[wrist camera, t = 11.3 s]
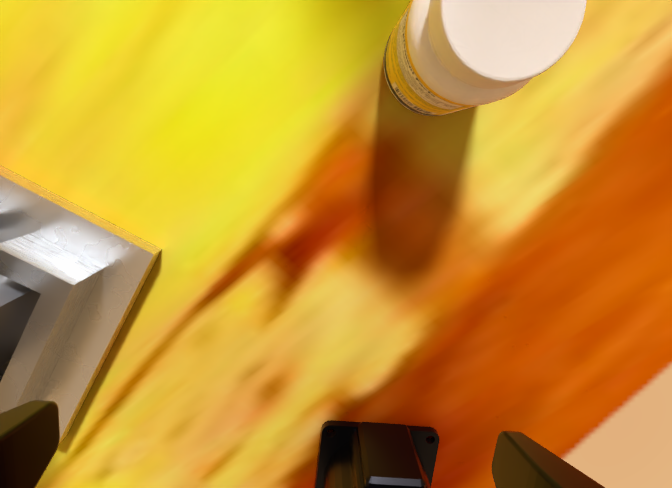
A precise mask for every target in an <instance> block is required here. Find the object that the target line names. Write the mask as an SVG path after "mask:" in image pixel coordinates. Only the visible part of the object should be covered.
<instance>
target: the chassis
mask: <svg viewBox="0 0 672 488" xmlns="http://www.w3.org/2000/svg"><path fill="white" fill-rule="evenodd" d="M160 251H161V249H160V248H158V247H156V246H154V245H152V244H150V243H148V242H146V241H144V240H143V239H141V238H139V237H137V236H135V235H133V234H131V233H129V232H127V231H125V230H123V229H121V228H119V227H118V226H116V225H114V224H112V223H110V222H108V221H106V220H104V219H102V218H100V217H98V216H96V215H94V214H92V213H91V212H89V211H87V210H85V209H83V208H81V207H79V206H77V205H75V204H73V203H71V202H69V201H67V200H66V199H64V198H62V197H60V196H58V195H56V194H54V193H52V192H50V191H48V190H46V189H44V188H42V187H41V186H39V185H37V184H35V183H33V182H31V181H29V180H27V179H25V178H23V177H21V176H19V175H17V174H16V173H14V172H12V171H10V170H8V169H6V168H4V167H2V166H0V275H3V276H5V277H7V278H9V279H11V280H13V281H15V282H17V283H19V284H21V285H23V286H25V287H28V288H30V289H32V290H34V291H36V292H38V293H40V294H41V295H40V297H39V299H38V301H37V303H36V306H35V308H34V310H33V312H32V314H31V316H30V319H29V321H28V323H27V325H26V327H25V329H24V332H23V334H22V336H21V338H20V340H19V343H18V345H17V347H16V349H15V351H14V353H13V356H12V358H11V360H10V361H8V362H7V363H5V364H4V365H3V366H1V367H0V414H1V413H3V412H5V411H8V410H10V409H13V408H15V407H17V406H20V405H22V404H25V403H27V402H29V401H32V400H44V401H54V402H55V403H57V405H58V409H59V427H60V441H59V444H60V443H61V442H62V440H63V439H64V438H65V437H66V436H67V434H68V432H69V430H70V428H71V426H72V424H73V422H74V420H75V418H76V416H77V414H78V412H79V410H80V408H81V406H82V404H83V402H84V400H85V398H86V397H87V395H88V393H89V391H90V389H91V387H92V385H93V383H94V381H95V379H96V377H97V375H98V373H99V371H100V369H101V367H102V365H103V363H104V361H105V359H106V357H107V355H108V353H109V351H110V349H111V347H112V345H113V344H114V342H115V340H116V338H117V336H118V334H119V332H120V330H121V328H122V326H123V324H124V322H125V320H126V318H127V316H128V314H129V312H130V310H131V308H132V306H133V304H134V302H135V300H136V298H137V296H138V294H139V293H140V291H141V289H142V287H143V285H144V283H145V281H146V279H147V277H148V275H149V273H150V271H151V269H152V267H153V265H154V263H155V261H156V259H157V257H158V255H159V253H160Z"/></svg>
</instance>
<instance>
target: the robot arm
mask: <svg viewBox="0 0 672 488" xmlns="http://www.w3.org/2000/svg"><path fill="white" fill-rule="evenodd" d="M329 429H333V430H334V431H333V432H327V430H329ZM428 436H432V438H430V439H426V438H427V437H428ZM59 441H60V427H59V409H58V405H57V403H55V402H54V401H44V400H32V401H29V402H27V403H25V404H22V405H20V406H17V407H15V408H13V409H10V410H8V411H5V412H3V413H1V414H0V488H35V487H36V485H37V483H38V482H39V480H40V478H41V476H42V475H43V473H44V471H45V470H46V468H47V466H48V464H49V463H50V461H51V459H52V457H53V456H54V454H55V452H56V450H57V448H58V445H59ZM438 444H439V436H438V433H437V431H436V430H435V429H434V428H431V427H420V426H406V425H401V424H386V423H371V422H362V423H361V422H346V421H327V422H325V423H324V424H323V425H322V428H321V437H320V446H319V455H318V464H317V473H316V482H315V488H431V482H432V477H433V471H434V466H435V461H436V455H437V450H438ZM492 474H493V478H494V482H495V485H496V488H605V487H603V486H602V485H600V484H598V483H597V482H596V481H594V480H593V479H591V478H589V477H588V476H586V475H585V474H583V473H582V472H580V471H579V470H577V469H576V468H574V467H573V466H571V465H570V464H568V463H567V462H565V461H564V460H562V459H561V458H559V457H558V456H556V455H555V454H553V453H552V452H550V451H549V450H547V449H546V448H544V447H543V446H541V445H540V444H538V443H536V442H535V441H533V440H532V439H530V438H529V437H527V436H526V435H524V434H523V433H521V432H513V431H502V432H501V433H500V434H499V436H498V439H497V444H496V448H495V453H494V457H493V462H492Z"/></svg>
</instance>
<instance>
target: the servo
mask: <svg viewBox="0 0 672 488" xmlns="http://www.w3.org/2000/svg"><path fill="white" fill-rule="evenodd" d="M40 295H41V294H40V293H38V292H36V291H34V290H32V289H30V288H28V287H25V286H23V285H21V284H19V283H17V282H15V281H13V280H11V279H9V278H7V277H5V276H3V275H0V367H1V366H3V365H4V364H5V363H7V362H8V361H10V360H11V358H12V356H13V353H14V351H15V349H16V347H17V345H18V343H19V340H20V338H21V336H22V334H23V332H24V329H25V327H26V325H27V323H28V321H29V319H30V316H31V314H32V312H33V310H34V308H35V306H36V303H37V301H38V299H39V297H40Z"/></svg>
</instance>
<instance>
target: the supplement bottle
mask: <svg viewBox="0 0 672 488" xmlns="http://www.w3.org/2000/svg"><path fill="white" fill-rule="evenodd" d="M585 7H586V0H411V1H410V3H409V5H408V6H407V8H406V9H405V11H404V13H403V15H402V16H401V18H400V19H399V21H398V23H397V24H396V26H395V28H394V29H393V31H392V33H391V35H390V37H389V39H388V42H387V45H386V48H385V53H384V73H385V77H386V81H387V84H388V86H389V88H390V90H391V92H392V93H393V95H394V97H395V98H396V99H397V100H398V101H399V102H400V103H401V104H402V105H403V106H404V107H406V108H407V109H409V110H411V111H413V112H415V113H418V114H421V115H426V116H440V115H445V114H449V113H452V112H456V111H460V110H463V109H468V108H471V107H475V106H479V105H483V104H488V103H491V102H495V101H498V100H501V99H503V98H506V97H508V96H510V95H512V94H513V93H515V92H517V91H518V90H519V89H521V88H522V87H523V86H524V85H526V84H527V83H528V82H529V81H530V80H531V79H532V78H533V77H535V76H537V75H539V74H541V73H543V72H544V71H546V70H547V69H549V68H550V67H551V66H553V65H554V64H555V63H556V62H557V61H558V60H559V59H560V58H561V57H562V56H563V55H564V54H565V52H566V51H567V50H568V49H569V47H570V46H571V44H572V43H573V41H574V39H575V38H576V36H577V34H578V31H579V29H580V26H581V24H582V21H583V17H584V13H585Z"/></svg>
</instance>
